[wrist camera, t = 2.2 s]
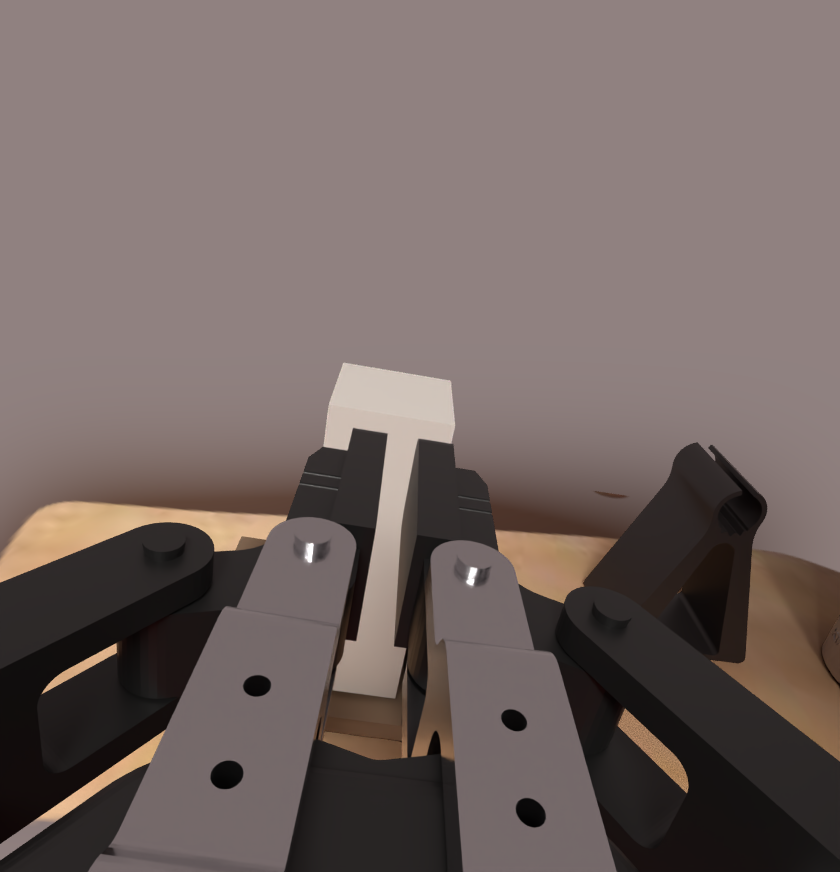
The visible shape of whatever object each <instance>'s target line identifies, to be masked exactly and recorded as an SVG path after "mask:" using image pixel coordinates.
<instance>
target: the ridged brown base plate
mask: <svg viewBox="0 0 840 872" xmlns="http://www.w3.org/2000/svg"><path fill="white" fill-rule="evenodd" d="M265 542H266V540H262V539H256V538H249V537H241V539H240V541H239V544H238V546H237V548H236V550H245V549H250V548H255V547H258V546H261V545H263V544H265ZM407 661H408V648H406V651H405V656H404V661H403V665H402V670H401V674H400V679H399V683H398V688H397V693H396V697H395V699H394V698H386V697H379V696H371V695H364V694H357V693H349V692H342V691H334V690H333V691H332V696H331V701H330V706H329V711H328V716H327V721H326V726H325V731H328V732H336V733H344V734H351V735H359V736H367V737H374V738H382V739H390V740H398V741H402V685H403V679H404V674H405V670H406V666H407Z"/></svg>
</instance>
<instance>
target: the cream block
mask: <svg viewBox="0 0 840 872" xmlns="http://www.w3.org/2000/svg"><path fill="white" fill-rule="evenodd" d="M353 428H357V429H364V430H370V431H376V432H382V433H388V436H387V444H386V452H385V460H384V468H383V476H382V484H381V492H380V501H379V509H378V517H377V525H376V532H375V537H374V543H373V549H372V554H371V560H370V566H369V572H368V577H367V583H366V589H365V594H364V600H363V606H362V612H361V617H360V623H359V629H358V635H357V640H356V641H350V640H345V646H344V652H343V656H342V659H341V661H340V662H339V664H338V665H337V670H336V676H335V681H334V686H333V690H334V691H342V692H349V693H357V694H364V695H371V696H379V697H386V698H394V699H395V697H396V693H397V688H398V683H399V679H400V674H401V670H402V665H403V661H404V656H405V651H406V648H401V647H394V635H395V619H396V602H397V586H398V570H399V553H400V537H401V526H402V519H403V512H404V506H405V501H406V496H407V491H408V485H409V480H410V475H411V470H412V465H413V460H414V454H415V449H416V445H417V441H418V438H419V439H425V440H432V441H438V442H444V443H450V444H451V442H452V437H453V433H454V428H455V420H454V409H453V399H452V389H451V381H449V380H443V379H437V378H431V377H425V376H420V375H414V374H407V373H402V372H396V371H390V370H384V369H378V368H372V367H366V366H360V365H354V364H349V363H343V366H342V369H341V371H340V374H339V377H338V380H337V383H336V386H335V388H334V392H333V394H332V397H331V400H330V403H329V407H328V416H327V423H326V431H325V440H324V447H328V448H335V449H341V450H348V446H349V442H350V438H351V434H352V430H353Z"/></svg>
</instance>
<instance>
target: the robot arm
mask: <svg viewBox="0 0 840 872" xmlns="http://www.w3.org/2000/svg"><path fill="white" fill-rule="evenodd" d="M387 436H388V433H382V432H376V431H370V430H364V429H357V428H353V430H352V434H351V438H350V442H349V446H348V450H341V449H335V448H328V447H322V448H321V449H320V450H318V451H317V452H315V453H314V454H312V455H311V456H310V457H309V458H308V461H307V463H306V466H305V469H304V473H303V475H302V477H301V480H300V484H299V486H298V489H297V491H296V494H295V497H294V500H293V503H292V505H291V508H290V511H289V514H288V517H287V519H286V521H284V522H282V523H280V524H278V525H277V526H275V527H274V528H273V529H272V530H271V532H270V533H269V535H268V537H267V540H266V542H265V544H263V545H261V546H258V547H255V548H250V549H245V550H235V551H219V552H214V544H213V541H212V539H211V538H210V537H209V536H208V535H207V534H206V533H205V532H204V531H202V530H200V529H198V528H196V527H193V526H190V525H187V524H181V523H171V522H165V523H154V524H149V525H144V526H141V527H138V528H135V529H133V530H130V531H128V532H125V533H123V534H120V535H118V536H115V537H113V538H110V539H108V540H105V541H103V542H100V543H98V544H95V545H93V546H90V547H88V548H85V549H83V550H81V551H78V552H76V553H73V554H71V555H68V556H66V557H63V558H61V559H58V560H56V561H53V562H51V563H48V564H46V565H43V566H41V567H38V568H36V569H33V570H31V571H28V572H26V573H23V574H21V575H18V576H16V577H13V578H11V579H8V580H6V581H3V582H1V583H0V844H1V843H2V842H3V841H5V840H7V839H8V838H9V837H11V836H12V835H14V834H15V833H17V832H18V831H20V830H21V829H22V828H24V827H25V826H27V825H28V824H30V823H31V822H33V821H34V820H35V819H37V818H38V817H40V816H41V815H43V814H44V813H46V812H47V811H48V810H50V809H51V808H53V807H54V806H56V805H57V804H59V803H60V802H61V801H63V800H64V799H66V798H67V797H69V796H70V795H72V794H73V793H74V792H76V791H77V790H79V789H80V788H82V787H83V786H85V785H86V784H87V783H89V782H90V781H92V780H93V779H95V778H96V777H98V776H99V775H100V774H102V773H103V772H105V771H106V770H108V769H109V768H111V767H112V766H113V765H115V764H116V763H118V762H119V761H121V760H122V759H124V758H125V757H126V756H128V755H129V754H131V753H132V752H134V751H135V750H137V749H138V748H139V747H141V746H142V745H144V744H145V743H147V742H148V741H150V740H151V739H153V738H154V737H155V736H157V735H158V734H160V733H161V732H163V731H164V730H165V733H164V735H163V737H162V739H161V741H160V743H159V745H158V748H157V750H156V752H155V754H154V756H153V758H152V760H151V763H149V764H146V765H144V766H142V767H139V768H137V769H135V770H133V771H131V772H130V773H128V774H126V775H124V776H122V777H121V778H119V779H117V780H115V781H114V782H112V783H111V784H109V785H108V786H106V787H105V788H103V789H102V790H100V791H99V792H97V793H96V794H95V795H93V796H92V797H90V798H89V799H87V800H86V801H85V802H83V803H82V804H80V805H79V806H77V807H76V808H75V809H73V810H72V811H70V812H69V813H67V814H66V815H65V816H63V817H62V818H60V819H59V820H58V821H56V822H55V823H53V824H52V825H50V826H49V827H48V828H46V829H45V830H43V831H42V832H40V833H39V834H38V835H36V836H35V837H33V838H32V839H30V840H29V841H28V842H26V843H25V844H23V845H22V846H20V847H19V848H18V849H16V850H15V851H13V852H12V853H10V854H9V855H8V856H6V857H5V858H3V859H2V860H0V872H840V762H839V761H838V760H837V759H836V758H834V757H833V756H832V755H830V754H829V753H828V752H827V751H825V750H824V749H823V748H822V747H820V746H819V745H818V744H816V743H815V742H814V741H813V740H811V739H810V738H809V737H807V736H806V735H805V734H804V733H802V732H801V731H800V730H798V729H797V728H796V727H795V726H793V725H792V724H791V723H790V722H788V721H787V720H786V719H784V718H783V717H782V716H781V715H779V714H778V713H777V712H775V711H774V710H773V709H772V708H770V707H769V706H768V705H767V704H765V703H764V702H763V701H761V700H760V699H759V698H758V697H756V696H755V695H754V694H752V693H751V692H750V691H749V690H747V689H746V688H745V687H743V686H742V685H741V684H740V683H738V682H737V681H736V680H735V679H733V678H732V677H731V676H729V675H728V674H727V673H726V672H724V671H723V670H722V669H720V668H719V667H718V666H717V665H715V664H714V663H713V662H711V661H710V660H709V659H708V658H706V657H705V656H704V655H703V654H701V653H700V652H699V651H697V650H696V649H695V648H694V647H692V646H691V645H690V644H688V643H687V642H686V641H685V640H683V639H682V638H681V637H680V636H678V635H677V634H676V633H674V632H673V631H672V630H671V629H669V628H668V627H667V626H665V625H664V624H663V623H662V622H660V621H659V620H658V619H656V618H655V617H654V616H653V615H651V614H650V613H649V612H648V611H646V610H645V609H644V608H642V607H641V606H640V605H639V604H637V603H636V602H634V601H633V600H632V599H630V598H628V597H626V596H625V595H622V594H620V593H618V592H615V591H613V590H610V589H606V588H601V587H592V586H587V587H580V588H577V589H575V590H573V591H571V592H570V593H569V594H568V595H567V597H566V599H565V602H564V604H563V603H560V602H557V601H555V600H552V599H549V598H546V597H544V596H541V595H539V594H536V593H534V592H532V591H530V590H528V589H526V588H524V587H523V586H521V585H520V584H518V581H517V577H516V573H515V570H514V567H513V565H512V564H511V562H510V561H509V560H508V559H507V558H506V557H505V556H504V555H503V554H501V553H500V552H499V551H498V545H497V539H496V534H495V528H494V522H493V516H492V515H491V513H492V510H491V505H490V503H489V501H490V499H489V493H488V487H487V485H486V483H485V482H484V481H483V480H482V479H481V477H480V476H479V475H478V474H477V473H476V472H475V471H472V470H466V469H460V468H455V457H454V446H453V444H450V443H444V442H438V441H432V440H425V439H419V438H418V441H417V445H416V449H415V454H414V460H413V465H412V470H411V475H410V480H409V485H408V491H407V496H406V501H405V506H404V512H403V519H402V526H401V537H400V553H399V570H398V586H397V602H396V619H395V635H394V647H401V648H408V661H407V666H406V670H405V674H404V679H403V685H402V758H399V759H390V760H373V759H370V758H367V757H364V756H361V755H358V754H356V753H353V752H350V751H348V750H345V749H342V748H340V747H337V746H334V745H332V744H329V743H326V742H324V741H323V736H324V731H325V726H326V721H327V716H328V711H329V706H330V701H331V696H332V691H333V686H334V681H335V676H336V670H337V665H338V664H339V662H340V661H341V659H342V656H343V652H344V646H345V640H350V641H356V640H357V635H358V629H359V623H360V617H361V612H362V606H363V600H364V594H365V589H366V583H367V577H368V572H369V566H370V560H371V554H372V549H373V543H374V537H375V532H376V525H377V517H378V509H379V501H380V492H381V484H382V476H383V468H384V460H385V452H386V444H387ZM115 643H117V653H116V654H114V655H112V656H110V657H109V658H107V659H105V660H103V661H101V662H100V663H98V664H96V665H94V666H92V667H90V668H89V669H87V670H85V671H83V672H81V673H80V674H78V675H76V676H74V677H72V678H71V679H69V680H67V681H65V682H63V683H61V684H60V685H58V686H56V687H54V688H52V689H51V690H49V691H47V692H45V693H43V694H42V692H43V690H44V689H45V688H46V686H47V685H48V684H49V683H50V682H51V681H52V680H53V679H54V678H55V677H56V676H58V675H59V674H60V673H62V672H64V671H65V670H67V669H69V668H71V667H72V666H74V665H76V664H78V663H80V662H82V661H84V660H85V659H87V658H89V657H91V656H93V655H95V654H97V653H99V652H100V651H102V650H104V649H106V648H108V647H110V646H112V645H113V644H115ZM822 655H823V658H824V661H825V664H826V666H827V667H828V669H829V670H830V672H831V674H832V675H833V676H834V678H835V679H836V680H837V681H838V682H839V683H840V615H839V617H838V619H837V621H836V622H835V624H834V626H833V628H832V629H831V631H830V633H829V635H828V636H827V638H826V640H825V642H824V644H823V646H822ZM625 708H626V709H627V710H628V711H629V712H630V713H631V714H632V715H633V716H634V717H635V718H636V719H637V720H638V721H639V722H641V723H642V724H643V725H644V726H645V727H646V728H647V729H648V730H649V731H650V732H651V733H652V734H653V735H654V736H655V737H656V738H658V739H659V740H660V741H661V742H662V743H663V744H664V745H665V746H666V747H667V748H668V749H669V750H670V751H671V752H672V753H673V754H674V755H675V756H676V757H677V758H678V759H679V761H680V762H681V764H682V765H683V767H684V769H685V771H686V774H687V777H688V783H689V788H688V793H686V792H685V791H684V790H683V789H682V788H681V787H680V786H679V785H678V784H676V783H675V782H674V781H673V780H672V779H671V778H670V777H669V776H668V775H667V774H666V773H665V772H664V771H663V770H662V769H661V768H660V767H659V766H658V765H657V764H656V763H655V762H654V761H653V760H652V759H651V758H650V757H649V756H648V755H647V754H646V753H645V752H644V751H643V750H642V749H641V748H640V747H638V746H637V745H636V744H635V743H634V742H633V741H632V740H631V739H630V738H629V737H628V736H627V735H626V734H625V733H624V732H623V731H622V730H621V729H620V728H619V727H618V723H619V721H620V719H621V716H622V714H623V712H624V709H625Z"/></svg>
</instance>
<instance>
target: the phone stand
mask: <svg viewBox="0 0 840 872" xmlns="http://www.w3.org/2000/svg"><path fill="white" fill-rule="evenodd" d="M709 449H710V450H711V452H713V454H714V455H715V461H714V460H713V459H712V458H711V457H710V456H709V454H708V453H707V452H706V451H705V450H704V449H703V448H702V447H701V446H700V445H699V444H698V443H693V444H690V445H688V446H686V447H684V448H683V449H682V450H681V451H680V452H679V453H678V454H677V456H676V457H675V459H674V462H673V466H672V470H671V474H670V476H669V478H668V480H667V482H666V483H665V484H664V486H663V487H662V488H661V489H660V491H659V492H658V493H657V494H656V495H655V497H654V498H653V499H652V500H651V502H650V503H649V504H648V505H647V506H646V508H645V509H644V510H643V511H642V512H641V513H640V515H639V516H638V517H637V518H636V520H635V521H634V522H633V523H632V524H631V525H630V527H629V528H628V529H627V530H626V531H625V533H624V534H623V535H622V536H621V537H620V539H619V540H618V541H617V542H616V543H615V545H614V546H613V547H612V548H611V549H610V551H609V552H608V553H607V554H606V555H605V556H604V558H603V559H602V560H601V561H600V562H599V564H598V565H597V566H596V567H595V568H594V570H593V571H592V572H591V573H590V574H589V576H588V577H587V578H586V579H585V580H584V585H585V587H587V586H592V587H601V588H606V589H610V590H613V591H615V592H618V593H620V594H622V595H625V596H626V597H628V598H630V599H632V600H633V601H634V602H636V603H637V604H639V605H640V606H641V607H642V608H644V609H645V610H646V611H648V612H649V613H650V614H651V615H653V616H654V617H655V618H656V619H658V620H659V621H660V622H662V623H663V624H664V625H665V626H667V627H668V628H669V629H671V630H672V631H673V632H674V633H676V634H677V635H678V636H680V637H681V638H682V639H683V640H685V641H686V642H687V643H688V644H690V645H691V646H692V647H694V648H695V649H696V650H697V651H699V652H700V653H701V654H703V655H704V656H705V657H706V658H708V659H709V660H715V661H724V662H732V663H741V662H743V661H744V660H745V652H746V636H747V620H748V604H749V588H750V572H751V556H752V544H753V539H754V536H755V534H756V531H757V529H758V527H759V526H760V524H761V523H762V522H763V520H764V519H765V516H766V513H767V504H766V501H765V499H764V498H763V496H762V495H761V494H759V492H758V491H757V490H756V489H755V488H754V487H753V486H752V485H751V484H750V483H749V482H748V481H747V480H746V479H745V478H744V477H743V476H742V475H741V474H740V473H739V472H738V471H737V470H736V468H734V467H733V465H731V463H730V462H729V461H728V460H727V459H726V458H725V457H724V456H723V455H722V454H721V453H720V452H719V451H718V450H717V449H716V448H715V447H714V446H713V445H710V447H709ZM681 587H682V591H681V592H680V593H678V591H679V590H680V589H681Z"/></svg>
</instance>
